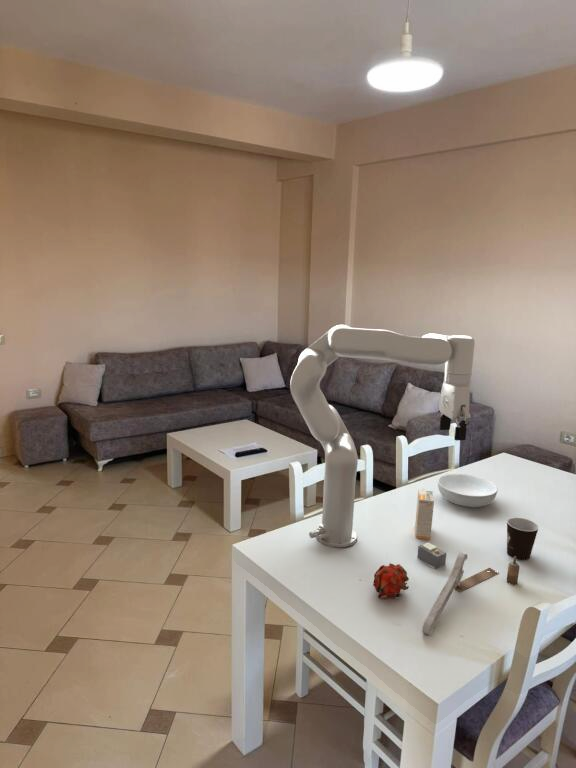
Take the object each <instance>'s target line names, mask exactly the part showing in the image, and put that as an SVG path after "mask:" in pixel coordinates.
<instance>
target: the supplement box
mask: <svg viewBox="0 0 576 768" xmlns="http://www.w3.org/2000/svg"><path fill="white" fill-rule="evenodd" d="M417 491H418V492H417V498H416V499H417V502H416V510H415V511H416V512H415V522H414V532H415V538H416V539H424V540H430V539H431V535H432V525H433V515H434V506H435V499H434V498H435V497H434V491H433V490H426V489H418V490H417Z"/></svg>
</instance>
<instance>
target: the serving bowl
mask: <svg viewBox="0 0 576 768" xmlns="http://www.w3.org/2000/svg"><path fill="white" fill-rule="evenodd" d="M437 487H438V491H439V493H440V494H441V496H442V497H443V498H444V499H445V500H446V501H449V502H451V503H453V504H455V505H458V506H461V507H468V508H469V507H470V508H477V507H478V508H479V507H484V506H487V505H488V504H491V503H492V502H493V501H494V499H496V496H497V494H498V489H499V488H498V487H497V485H496V484H495V483H494V482H492V481H490V480H488V479H486V478H484V477H480V476H476V475H472V474H471V475H470V474H467V473H466V474H465V473H464V474H463V473H449V474H448V473H447V474H445V475H441V476H439V478H437Z"/></svg>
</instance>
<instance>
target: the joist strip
mask: <svg viewBox="0 0 576 768" xmlns="http://www.w3.org/2000/svg"><path fill="white" fill-rule="evenodd" d="M487 571H490V572H487ZM495 571H496V570H494V569H493V568H492V567H488V568H486V569H484V570H481V571H479V572H476V573H475V574H473V575H471V576H469V577H467V578H465V579H461V581H460V587H458V586H457V587H456V588H455V589H454V590H455V591H457V592H458V593H462V592H463V591H465V590H467V589H469V588H471V587H472V588H473V587H475V586H476V585H477V584H480V583H482V582H483V580H484V581H486V580H488V579H490V578H492V577H494V576H496V575H498V574H497V572H498V571H497V572H495ZM495 574H496V575H495ZM493 575H494V576H493ZM491 576H492V577H491ZM489 577H490V578H489ZM487 578H488V579H487ZM485 579H486V580H485ZM481 581H482V582H481Z"/></svg>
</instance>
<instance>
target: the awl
mask: <svg viewBox="0 0 576 768" xmlns="http://www.w3.org/2000/svg"><path fill="white" fill-rule="evenodd" d="M520 567H521V566H520V565H519V563H518V562H517V557H516V556H514V558H513V561H510V562H509V563H508V566H507V573H506V580H507V581H506V582H507V584H509V583H510V584H509V585H512V584H513V586H515V584H516V585H517V584H518V581H519V574H520Z"/></svg>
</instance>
